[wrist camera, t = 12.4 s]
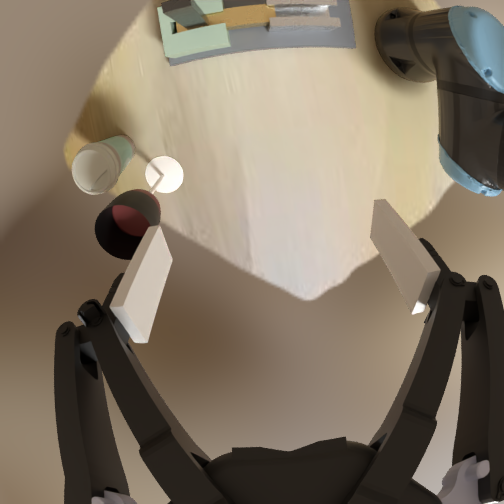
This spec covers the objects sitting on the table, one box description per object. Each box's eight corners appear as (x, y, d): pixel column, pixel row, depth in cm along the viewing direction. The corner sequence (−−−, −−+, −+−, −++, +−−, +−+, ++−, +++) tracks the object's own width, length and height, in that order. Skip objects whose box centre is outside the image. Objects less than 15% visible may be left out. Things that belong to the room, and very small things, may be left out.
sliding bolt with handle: (272, 8, 27) (283, -24, 15) (274, 25, 29) (288, 0, 17) (180, 23, 28) (146, 1, 16) (183, 39, 30) (150, 24, 18)
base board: (344, -5, 26) (347, -7, 25) (352, 48, 33) (356, 48, 31) (163, 12, 28) (160, 10, 27) (172, 66, 35) (170, 65, 34)
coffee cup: (107, 173, 46) (77, 201, 36) (98, 132, 41) (63, 152, 31) (145, 166, 46) (120, 194, 36) (137, 123, 41) (107, 140, 31)
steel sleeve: (326, 4, 27) (335, -3, 23) (331, 31, 30) (341, 26, 26) (263, 5, 28) (265, -4, 23) (268, 32, 31) (270, 26, 27)
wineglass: (194, 179, 48) (166, 241, 32) (159, 201, 50) (122, 268, 34) (169, 145, 44) (124, 192, 28) (135, 171, 46) (84, 227, 30)
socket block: (223, 1, 27) (219, -8, 23) (231, 46, 32) (228, 42, 28) (167, 13, 28) (157, 7, 23) (174, 58, 33) (165, 56, 29)
